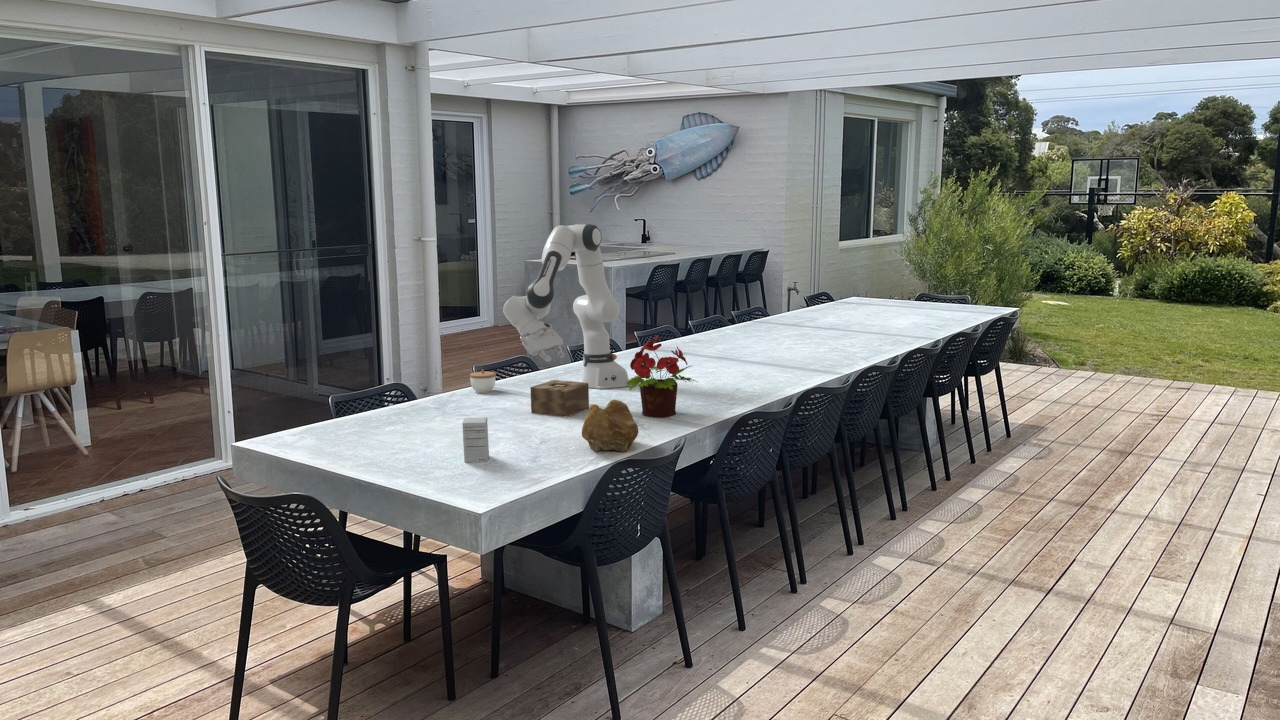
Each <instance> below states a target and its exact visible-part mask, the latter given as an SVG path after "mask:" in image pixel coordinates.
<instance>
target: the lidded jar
mask: <svg viewBox="0 0 1280 720" xmlns="http://www.w3.org/2000/svg"><path fill="white" fill-rule="evenodd" d="M484 370H485V369H481V371H476V372H475V371H474V372H471V373H469V378H470V385H471V387H472V389H473V390H474V391H475V392H476V393H477V392H478V394H484V393H485V394H486V393H490V392H491V391H492V390H493V389H494V387H495V385H496V375H497V374H496V372H494V371H484Z"/></svg>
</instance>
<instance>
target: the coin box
mask: <svg viewBox="0 0 1280 720" xmlns="http://www.w3.org/2000/svg"><path fill="white" fill-rule="evenodd" d="M554 385H566V387H558V386H554ZM589 389H590V388H589V386H588V383H584V382H582V381H571V380H561V379H560V380H557V379H551V380H549V381H548V380H547V381H545V382H542V383H539V384H536V385H533V386H530V409H531V411H530V412H531V414H537V415H545V414H546V415H545V416H548V415H549V416H554V415H555V416H557V417H564V416H566V417H567V418H568V417H571V416H574V415H576V414H578V413H581V412H583V411H586V410H589V408H590V401H589V400H590V393H589V391H590V390H589ZM585 409H586V410H585ZM580 411H581V412H580ZM575 413H576V414H575ZM570 415H571V416H570ZM566 417H565V418H566Z"/></svg>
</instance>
